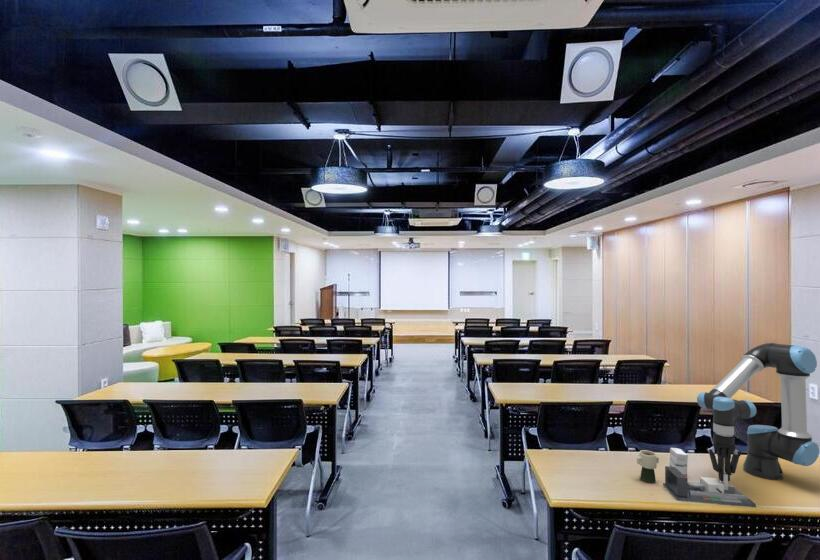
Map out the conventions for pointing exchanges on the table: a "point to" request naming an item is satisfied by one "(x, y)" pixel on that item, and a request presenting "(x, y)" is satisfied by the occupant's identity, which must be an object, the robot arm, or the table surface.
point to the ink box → (679, 460)
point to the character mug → (648, 465)
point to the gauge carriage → (709, 485)
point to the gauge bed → (682, 492)
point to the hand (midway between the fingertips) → (724, 488)
